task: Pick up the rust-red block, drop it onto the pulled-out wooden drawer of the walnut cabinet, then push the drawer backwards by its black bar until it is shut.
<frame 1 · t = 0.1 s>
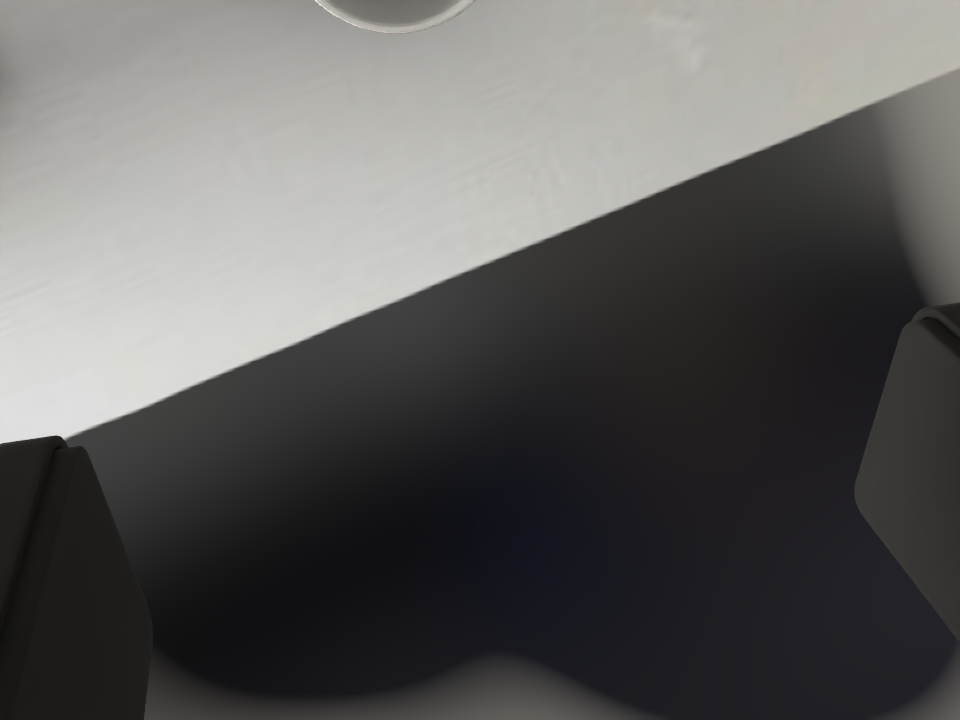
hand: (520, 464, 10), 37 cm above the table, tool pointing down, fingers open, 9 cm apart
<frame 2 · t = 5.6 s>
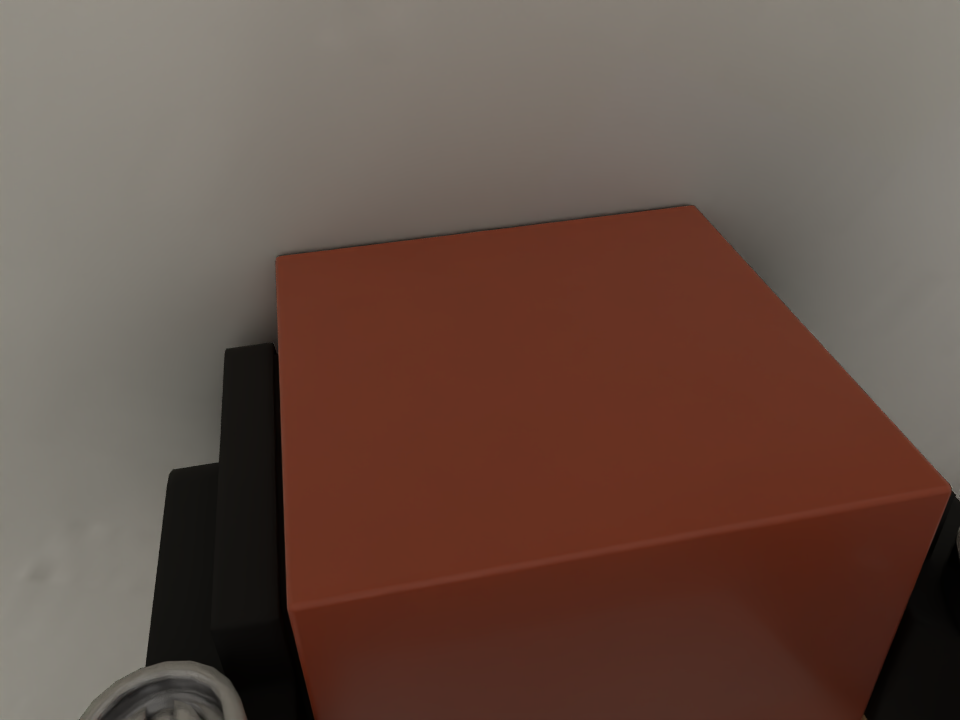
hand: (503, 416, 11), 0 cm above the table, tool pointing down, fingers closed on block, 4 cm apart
block: (496, 396, 11), on the table, touching gripper
when the fingers open (6 cm above the table, at t = 10.9 s): block drops 4 cm, resting on wooden drawer.
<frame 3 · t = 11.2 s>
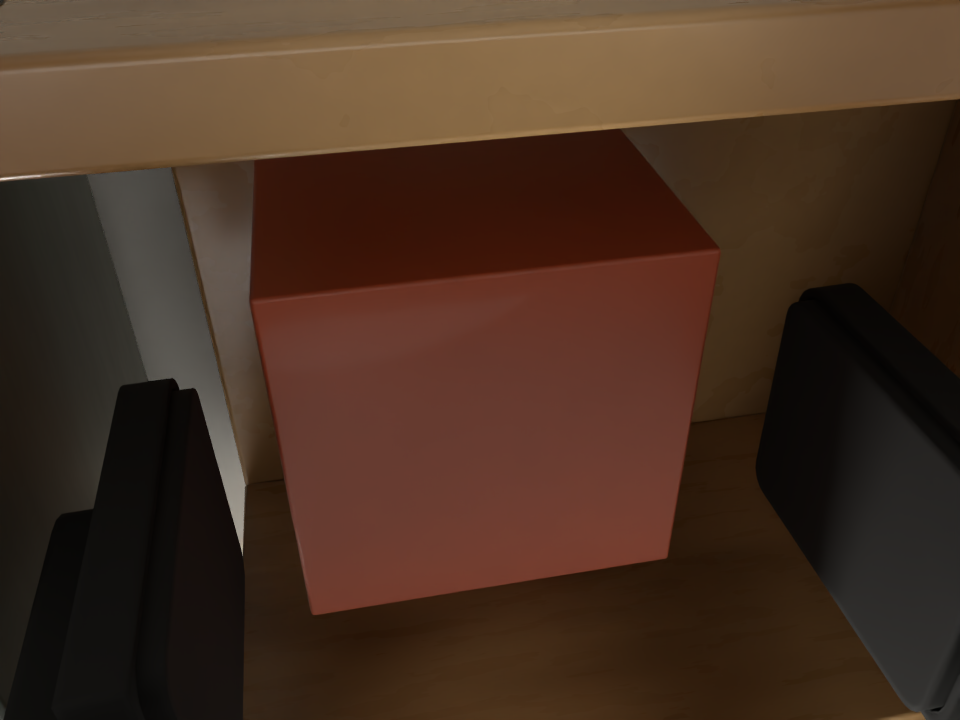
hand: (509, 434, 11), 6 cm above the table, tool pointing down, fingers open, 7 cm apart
block: (434, 250, 14), point 2 cm above the table, touching wooden drawer
wooden drawer: (403, 358, 12), point 5 cm above the table, slide at 11.1 cm, touching block, gripper
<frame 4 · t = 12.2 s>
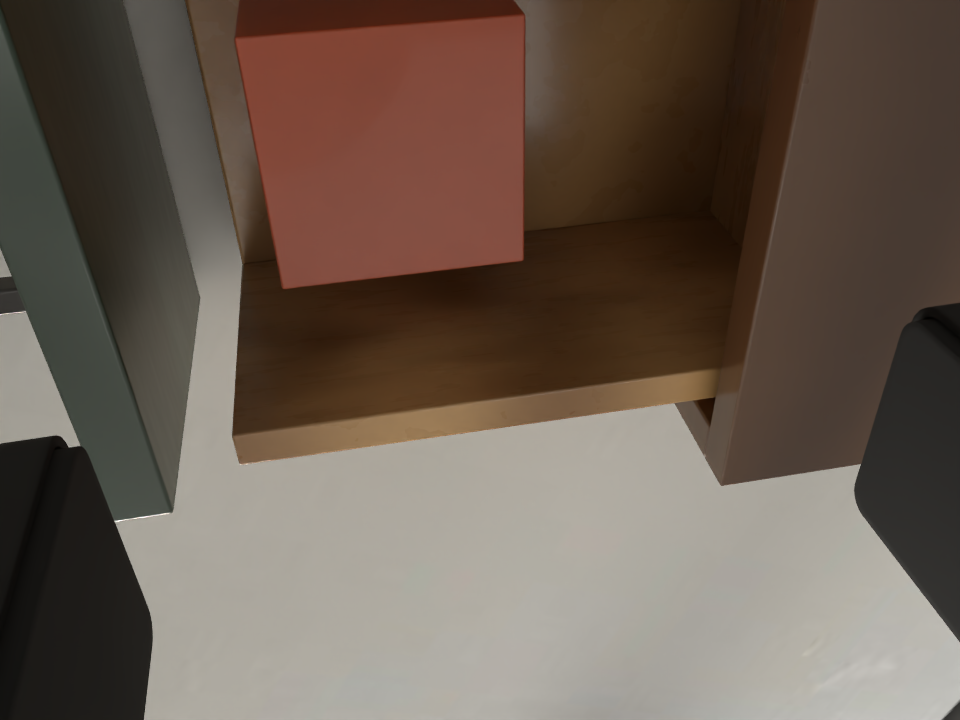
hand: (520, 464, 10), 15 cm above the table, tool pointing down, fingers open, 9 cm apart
block: (372, 72, 20), point 2 cm above the table, touching wooden drawer
wooden drawer: (342, 122, 17), point 5 cm above the table, slide at 11.0 cm, touching block
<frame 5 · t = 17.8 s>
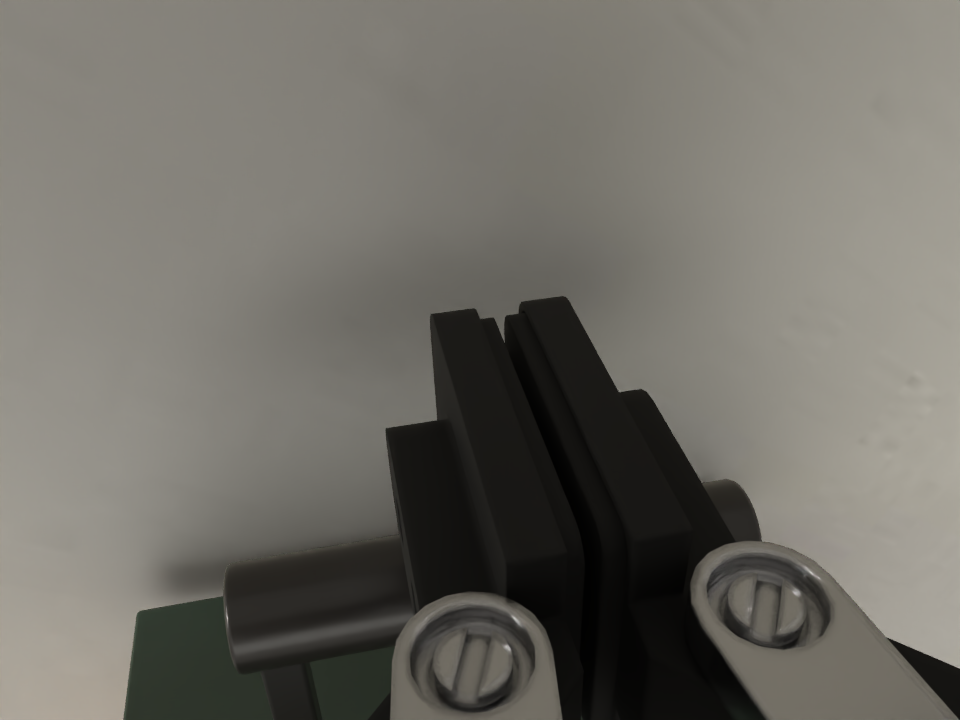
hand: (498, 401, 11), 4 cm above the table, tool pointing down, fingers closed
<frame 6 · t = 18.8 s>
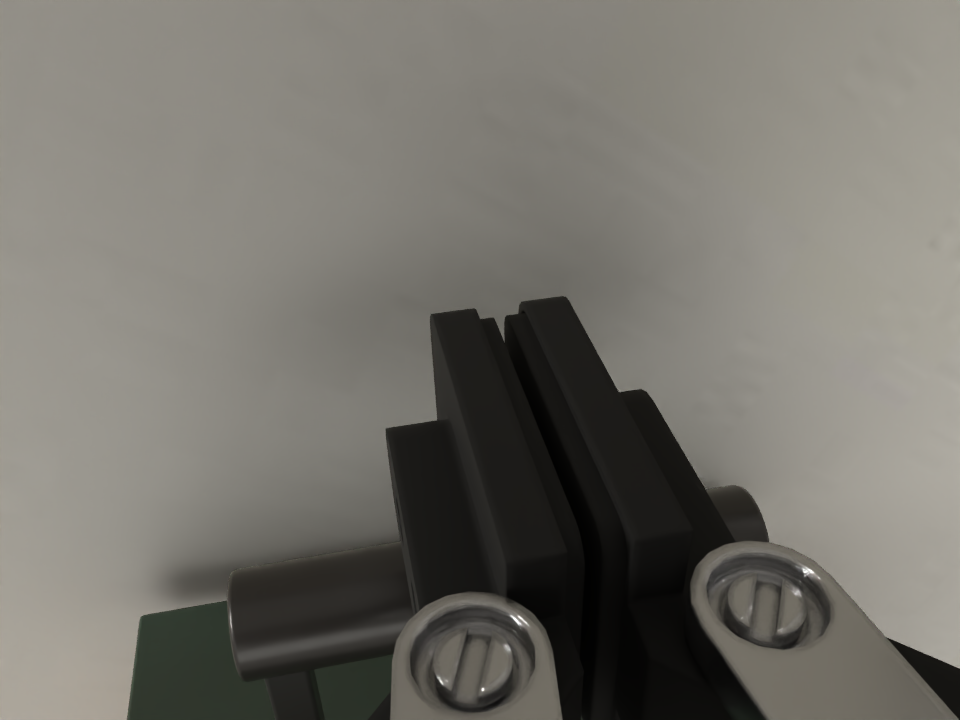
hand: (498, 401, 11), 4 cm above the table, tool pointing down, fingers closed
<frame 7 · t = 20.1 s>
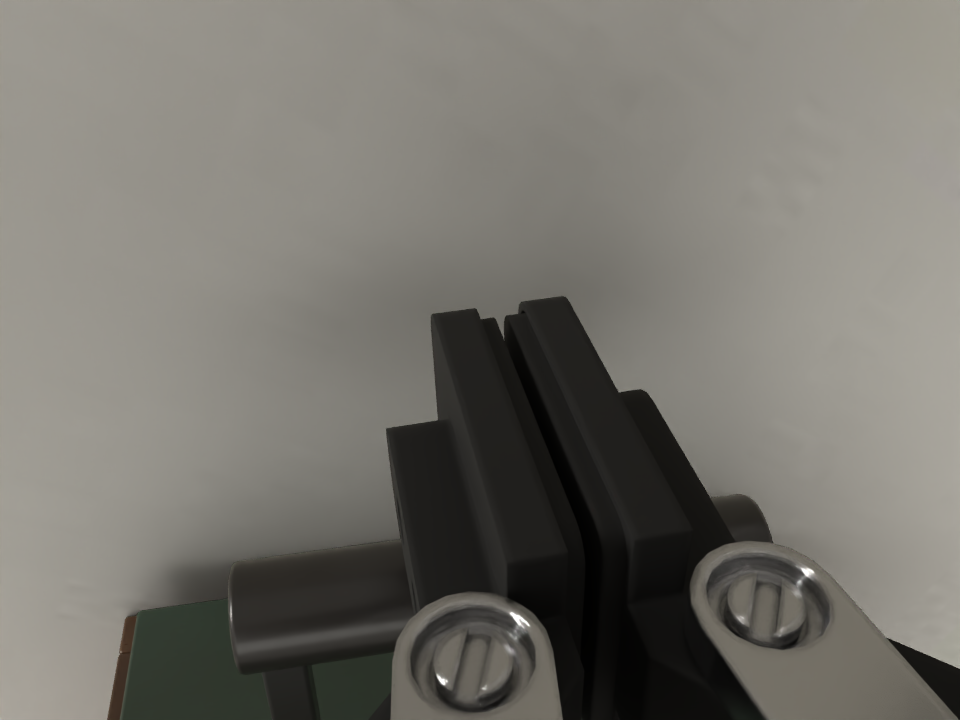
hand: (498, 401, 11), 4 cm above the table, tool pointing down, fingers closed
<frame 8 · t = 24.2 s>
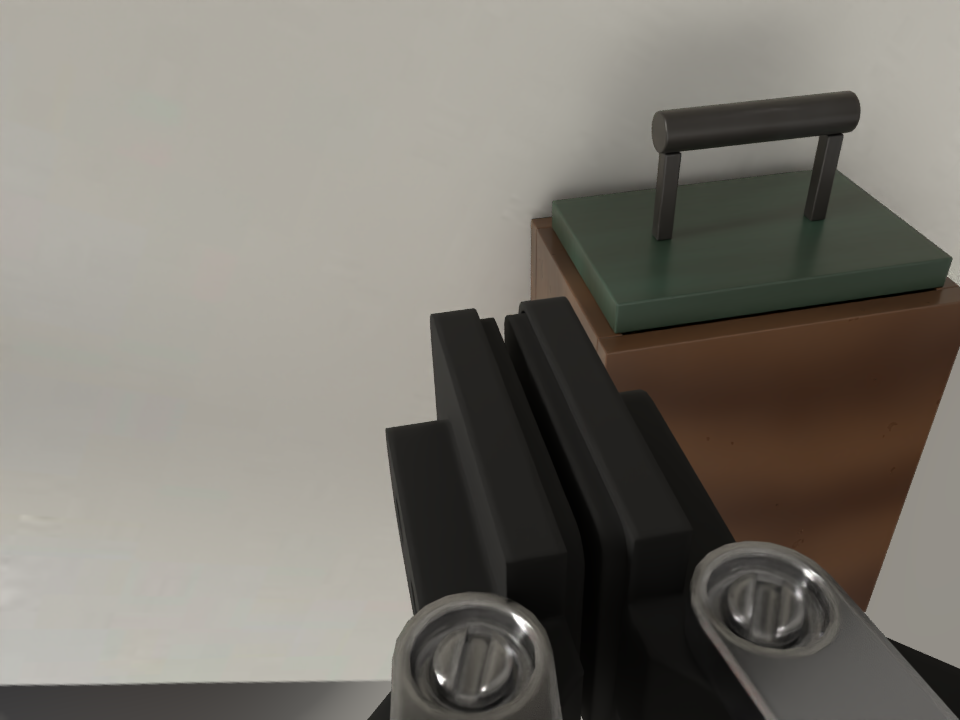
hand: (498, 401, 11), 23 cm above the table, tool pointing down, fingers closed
block: (689, 327, 38), point 2 cm above the table, touching wooden drawer
cabinet: (665, 361, 42), on the table
wooden drawer: (719, 347, 36), point 5 cm above the table, slide at 0.0 cm, touching block, cabinet
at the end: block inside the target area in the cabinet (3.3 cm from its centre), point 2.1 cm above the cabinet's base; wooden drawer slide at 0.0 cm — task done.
